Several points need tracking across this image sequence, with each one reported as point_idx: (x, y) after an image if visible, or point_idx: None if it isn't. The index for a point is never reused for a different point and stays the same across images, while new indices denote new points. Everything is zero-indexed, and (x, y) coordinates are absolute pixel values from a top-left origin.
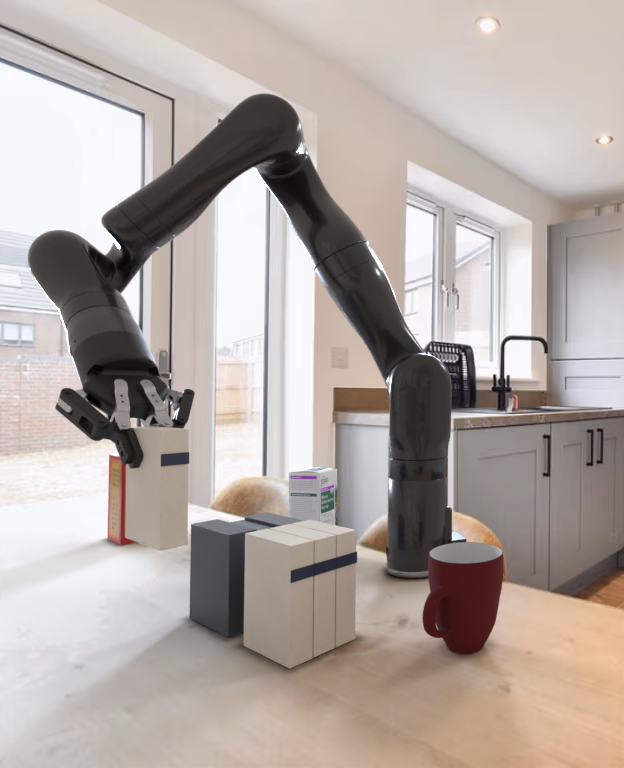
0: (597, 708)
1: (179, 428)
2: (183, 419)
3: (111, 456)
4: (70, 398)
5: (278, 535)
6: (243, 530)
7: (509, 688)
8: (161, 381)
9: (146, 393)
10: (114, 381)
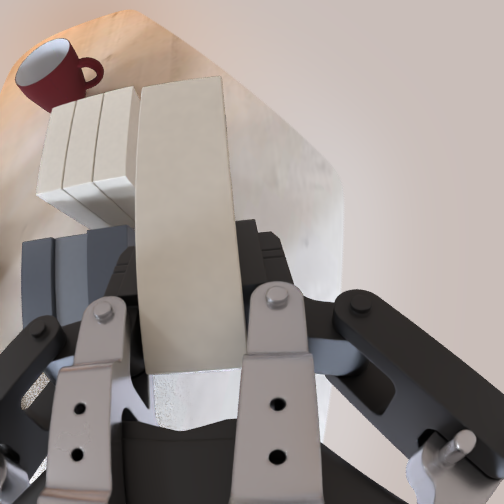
0: (106, 30)
1: (147, 118)
2: (41, 321)
3: None
4: (500, 403)
5: (109, 134)
6: (101, 238)
7: (107, 57)
8: None
9: (105, 479)
10: None
